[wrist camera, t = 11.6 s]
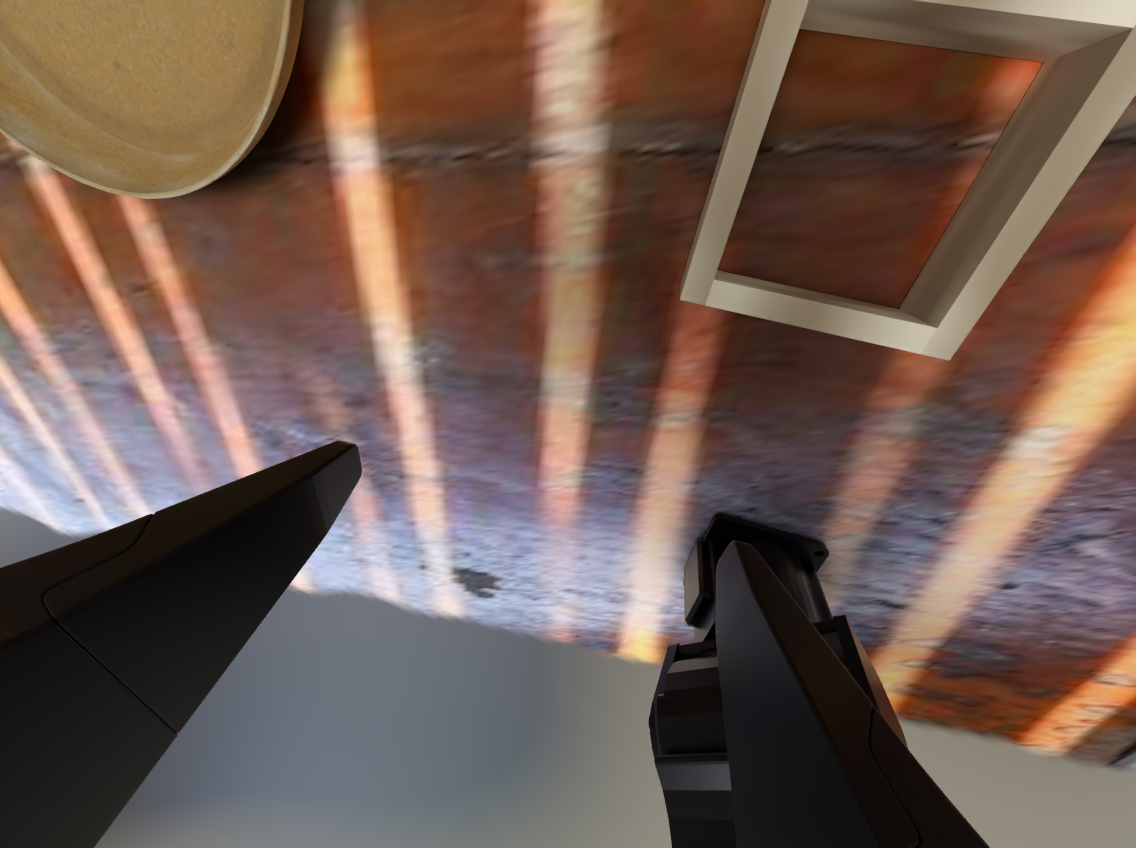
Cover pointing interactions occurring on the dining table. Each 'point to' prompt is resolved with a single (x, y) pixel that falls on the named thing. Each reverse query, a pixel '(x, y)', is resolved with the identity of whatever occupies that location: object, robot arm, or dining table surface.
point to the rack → (1000, 191)
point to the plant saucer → (144, 86)
